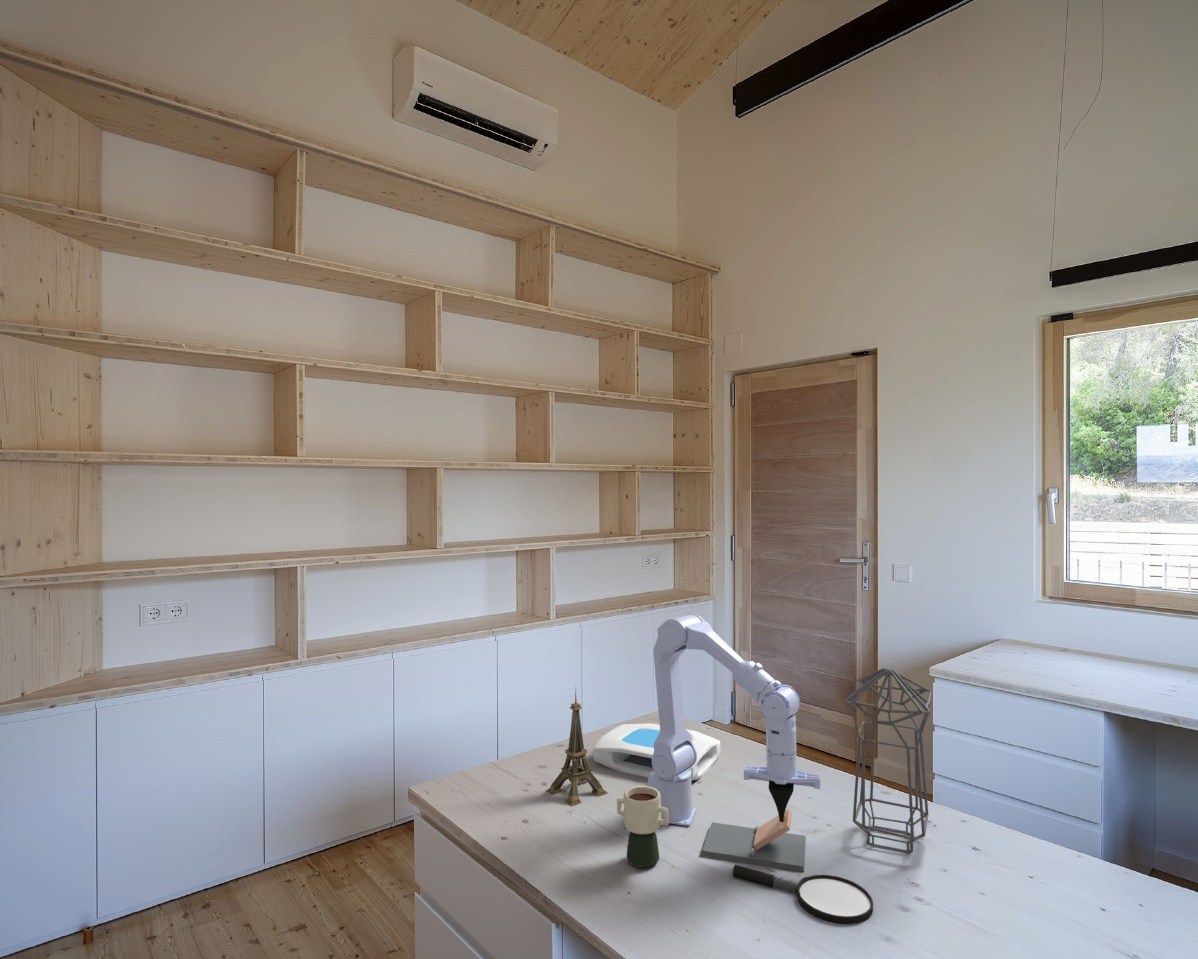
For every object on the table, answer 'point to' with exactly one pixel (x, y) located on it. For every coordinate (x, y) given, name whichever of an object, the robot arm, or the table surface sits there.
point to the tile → (772, 830)
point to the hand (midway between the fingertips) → (781, 819)
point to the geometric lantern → (854, 704)
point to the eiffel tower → (576, 764)
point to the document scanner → (649, 749)
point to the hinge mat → (740, 842)
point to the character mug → (642, 823)
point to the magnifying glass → (819, 895)
